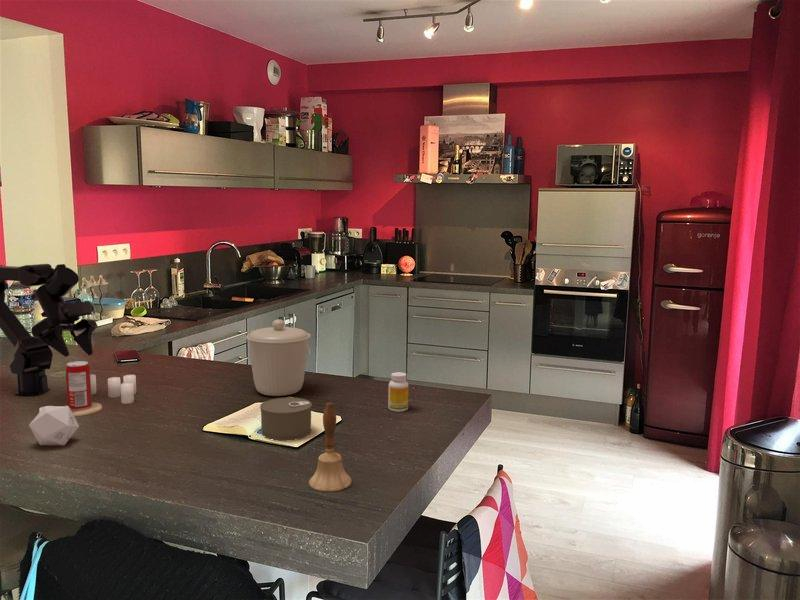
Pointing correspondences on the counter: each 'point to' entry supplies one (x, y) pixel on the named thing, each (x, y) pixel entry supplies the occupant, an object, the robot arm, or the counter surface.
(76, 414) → the coaster
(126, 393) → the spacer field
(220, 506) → the counter surface
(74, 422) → the die
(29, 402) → the counter surface
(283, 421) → the can
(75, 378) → the soda can
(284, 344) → the canister
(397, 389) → the supplement bottle
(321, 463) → the hand bell
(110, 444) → the counter surface
